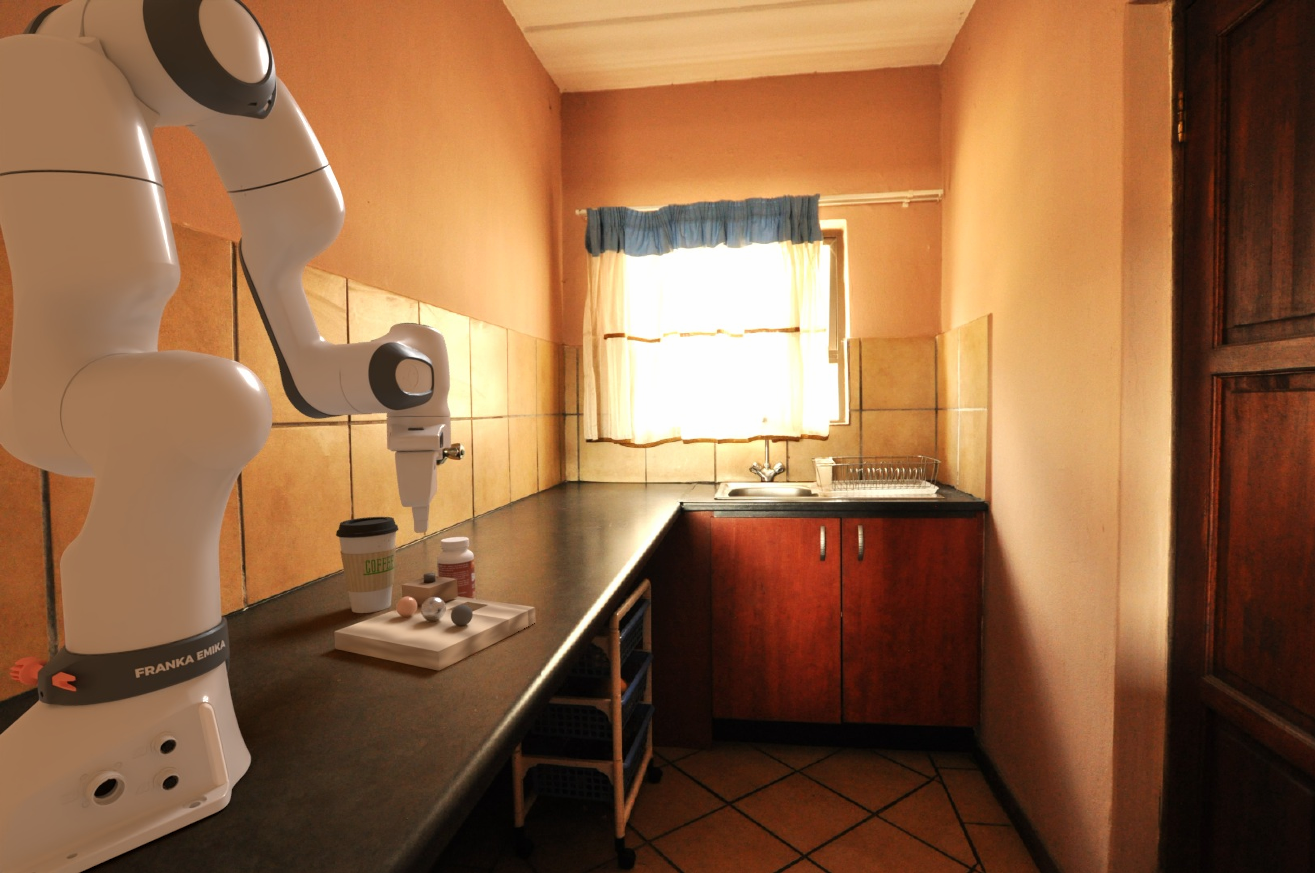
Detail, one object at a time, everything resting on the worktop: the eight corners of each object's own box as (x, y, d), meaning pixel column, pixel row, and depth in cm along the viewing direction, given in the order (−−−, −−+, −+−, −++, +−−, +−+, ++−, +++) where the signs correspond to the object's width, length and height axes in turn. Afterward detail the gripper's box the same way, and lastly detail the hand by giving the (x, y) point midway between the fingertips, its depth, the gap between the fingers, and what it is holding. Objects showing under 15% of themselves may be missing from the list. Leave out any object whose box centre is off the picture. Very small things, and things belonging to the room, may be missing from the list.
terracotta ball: (406, 620, 97) (405, 600, 97) (392, 618, 99) (391, 598, 99) (422, 614, 100) (421, 595, 100) (408, 612, 101) (407, 593, 101)
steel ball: (433, 625, 94) (432, 601, 94) (416, 622, 96) (415, 599, 96) (451, 618, 98) (450, 595, 97) (434, 615, 99) (433, 592, 99)
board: (439, 670, 84) (438, 651, 84) (335, 648, 94) (334, 631, 93) (535, 622, 102) (535, 607, 102) (440, 608, 111) (439, 593, 111)
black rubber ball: (462, 630, 92) (461, 608, 92) (446, 627, 94) (445, 606, 94) (477, 623, 95) (476, 602, 95) (461, 620, 96) (460, 600, 96)
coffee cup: (402, 611, 110) (398, 522, 110) (337, 619, 107) (332, 528, 106) (401, 596, 120) (398, 514, 119) (342, 603, 116) (337, 519, 115)
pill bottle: (480, 602, 114) (478, 539, 113) (444, 609, 111) (441, 544, 110) (469, 594, 119) (466, 534, 119) (434, 601, 116) (432, 538, 115)
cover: (430, 607, 103) (428, 580, 102) (402, 603, 105) (401, 577, 105) (457, 596, 108) (456, 571, 108) (431, 593, 111) (429, 568, 111)
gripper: (403, 437, 105) (405, 523, 106) (387, 438, 86) (390, 544, 86) (444, 436, 107) (446, 520, 107) (438, 437, 87) (441, 540, 88)
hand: (421, 531), depth 96 cm, fingers closed
